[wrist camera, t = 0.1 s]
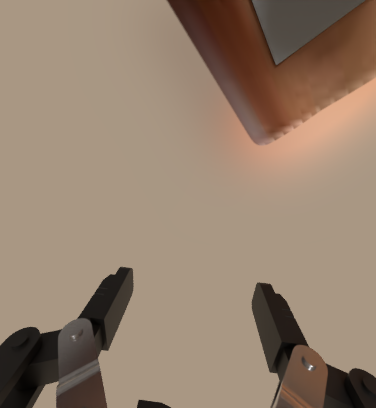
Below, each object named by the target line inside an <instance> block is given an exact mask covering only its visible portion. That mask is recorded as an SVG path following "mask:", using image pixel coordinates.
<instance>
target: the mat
mask: <svg viewBox="0 0 376 408" xmlns="http://www.w3.org/2000/svg"><path fill="white" fill-rule="evenodd" d="M364 1H365V0H252V3H253V6H254V8H255V11H256V14H257V16H258V19H259V22H260V25H261V27H262V30H263V33H264V35H265V38H266V41H267V43H268V46H269V49H270V51H271V54H272V57H273V59H274V62H275V65H278V64H279V63H280V62H282V61H283V60H284V59H286V58H287V57H289V56H290V55H291V54H293V53H294V52H295V51H297V50H298V49H299V48H301V47H302V46H304V45H305V44H306V43H308V42H309V41H310V40H312V39H313V38H314V37H316V36H317V35H319V34H320V33H321V32H323V31H324V30H325V29H327V28H328V27H330V26H331V25H332V24H334V23H335V22H336V21H338V20H339V19H340V18H342V17H343V16H345V15H346V14H347V13H349V12H350V11H351V10H353V9H354V8H356V7H357V6H358V5H360V4H361V3H362V2H364Z"/></svg>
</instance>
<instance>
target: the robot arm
mask: <svg viewBox="0 0 376 408" xmlns="http://www.w3.org/2000/svg"><path fill="white" fill-rule="evenodd" d="M132 292H133V269H132V268H126V267H120V268H119V270H118V271H117V273H116V274H115V275H112V274H111V275H109V276H108V277H106V278H105V279H104V280H103V281H102V283H101V284H100V286H99V288H98V289H97V290H96V292H95V294H94V295H93V296H92V298H91V299H90V301H89V302H88V304H87V305H86V307H85V308H84V310H83V311H82V313H81V314H80V316H79V317H78V318H77V319H76V320H73V321H71V322H70V323H68V324H67V325H66V326H65V327H64V328H63V329H61V330H58V331H53V332H48V333H42V334H40V332H39V330H38V329H37V328H35V327H27V328H23V329H21V330H19V331H17V332H15V333H13V334H12V335H11V336H9V337H8V338H7V339H6V340H5V341H4V342H3V343H2V344H1V346H0V408H32V407H33V405H34V403H35V402H36V400H37V398H38V397H39V395H40V393H41V391H42V390H43V388H44V386H45V385H46V384H49V383H53V382H57V381H59V385H58V386H57V390H56V408H107V403H106V398H105V393H104V387H103V382H102V376H101V371H100V366H99V362H98V356H99V354H100V352H101V350H107V351H108V350H109V347H110V345H111V343H112V340H113V338H114V336H115V333H116V331H117V329H118V326H119V324H120V321H121V319H122V317H123V315H124V312H125V310H126V308H127V305H128V303H129V301H130V298H131V296H132ZM252 311H253V315H254V318H255V322H256V325H257V329H258V332H259V336H260V339H261V343H262V346H263V350H264V354H265V357H266V361H267V364H268V368H269V371H270V372H272V373H277V374H278V377H279V380H280V381H279V383H278V386H277V389H276V392H275V395H274V398H273V401H272V404H271V406H270V408H376V378H375V377H374V376H373V375H371V374H369V373H368V372H366V371H364V370H361V369H357V368H355V369H352V370H351V371H350V372H349V374H348V373H346V372H343V371H341V370H339V369H337V368H334V367H332V366H330V365H328V364H326V363H325V362H324V361H323V359H322V358H321V356H320V355H319V354H318V353H317V352H315V351H314V350H313V349H311V348H310V347H309V346H308V344H307V342H306V340H305V338H304V336H303V334H302V332H301V330H300V328H299V326H298V324H297V322H296V320H295V318H294V316H293V314H292V312H291V311H290V308H289V306H288V304H287V302H286V300H285V299H284V298H283V297H282V296H281V295H280V294H276V293H275V292H274V290H273V288H272V286H271V284H266V283H257V284H256V288H255V291H254V295H253V299H252ZM137 408H171V407H169V406H167V405H165V404H163V403H159V402H152V401H145V400H139V401H138V405H137Z"/></svg>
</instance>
